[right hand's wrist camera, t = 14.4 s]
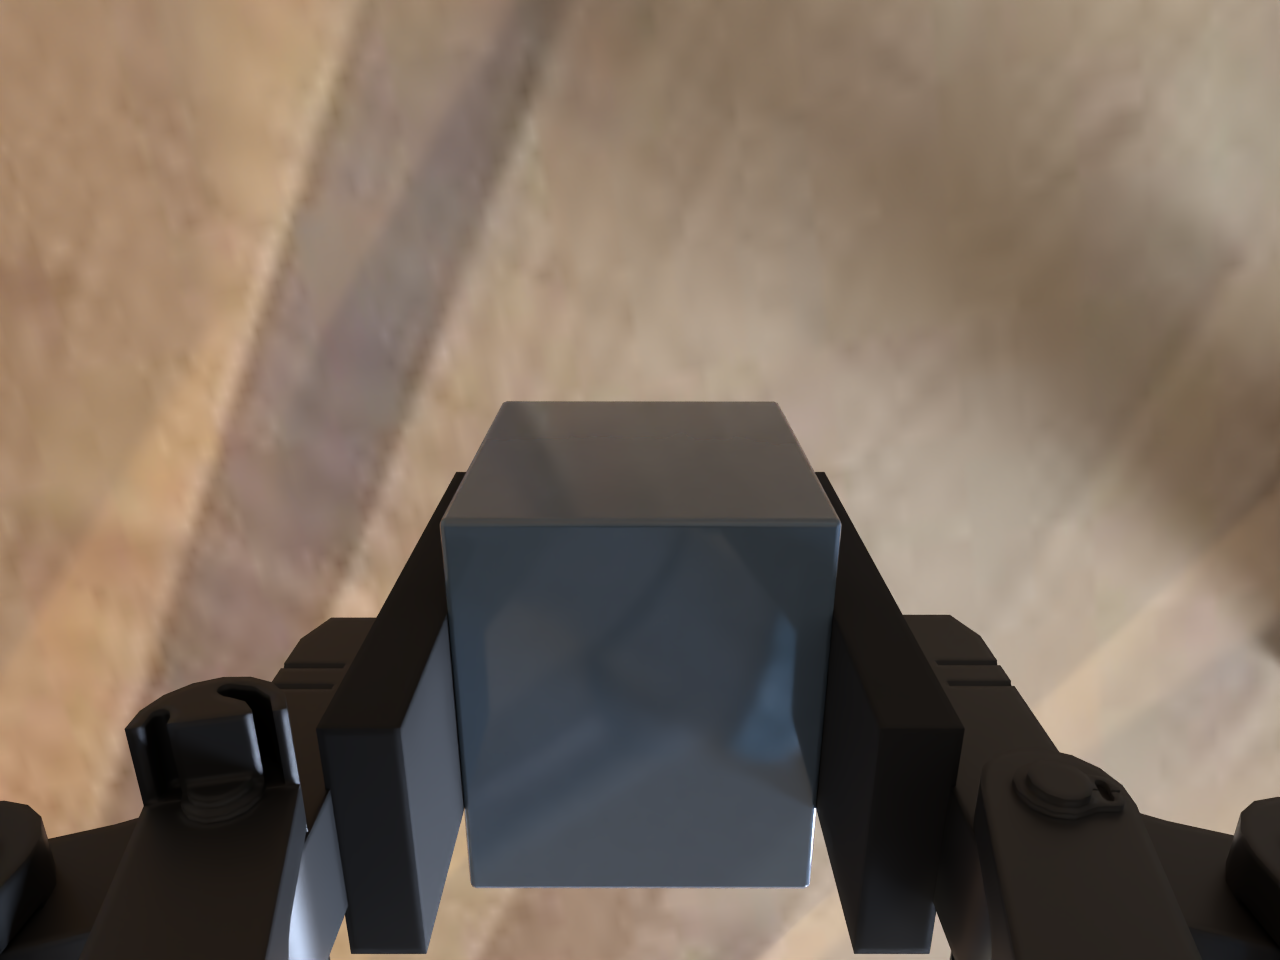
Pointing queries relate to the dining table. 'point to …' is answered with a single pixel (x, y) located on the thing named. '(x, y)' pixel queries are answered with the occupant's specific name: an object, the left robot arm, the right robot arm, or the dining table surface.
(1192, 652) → the dining table surface
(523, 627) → the block
